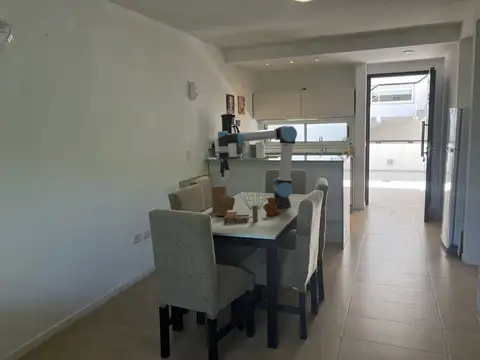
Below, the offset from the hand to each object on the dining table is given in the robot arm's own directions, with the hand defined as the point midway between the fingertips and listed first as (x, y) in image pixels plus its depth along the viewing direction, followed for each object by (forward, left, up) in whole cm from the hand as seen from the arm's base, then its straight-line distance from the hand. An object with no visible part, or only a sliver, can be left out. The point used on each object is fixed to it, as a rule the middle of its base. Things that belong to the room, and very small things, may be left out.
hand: (225, 179), depth 303 cm
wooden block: (+7, -9, -26) cm, 28 cm away
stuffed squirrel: (-35, +9, -26) cm, 44 cm away
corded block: (-16, +26, -25) cm, 40 cm away
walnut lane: (-12, +26, -26) cm, 38 cm away
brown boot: (-1, +8, -26) cm, 27 cm away
